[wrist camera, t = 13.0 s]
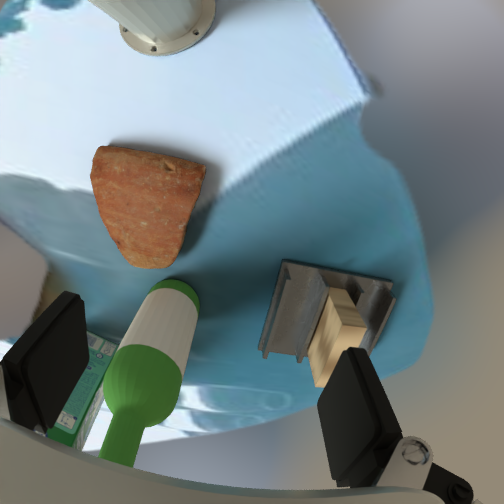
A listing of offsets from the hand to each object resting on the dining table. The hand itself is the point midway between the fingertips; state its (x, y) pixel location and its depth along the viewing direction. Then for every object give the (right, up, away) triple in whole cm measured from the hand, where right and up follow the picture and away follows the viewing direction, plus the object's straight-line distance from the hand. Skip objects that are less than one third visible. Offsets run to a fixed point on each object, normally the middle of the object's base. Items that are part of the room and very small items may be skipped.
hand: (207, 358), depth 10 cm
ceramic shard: (-13, +10, +29) cm, 33 cm away
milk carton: (-26, -14, +38) cm, 49 cm away
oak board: (+12, -6, +34) cm, 36 cm away
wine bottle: (-10, -3, +34) cm, 35 cm away
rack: (+12, -6, +35) cm, 37 cm away
